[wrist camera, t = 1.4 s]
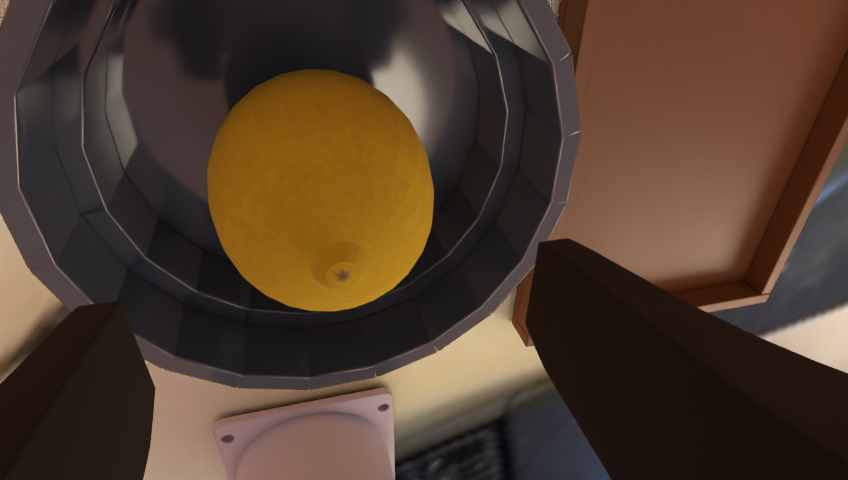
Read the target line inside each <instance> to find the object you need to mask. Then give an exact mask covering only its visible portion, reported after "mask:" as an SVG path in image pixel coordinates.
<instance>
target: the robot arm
mask: <svg viewBox="0 0 848 480" xmlns="http://www.w3.org/2000/svg"><path fill="white" fill-rule="evenodd" d="M525 325H526V327H527V329H528V332H529V334H530V337H531V339H532V341H533V344H534V346H535V349H536V351H537V353H538V355H539V357H540V360H541V362H542V364H543V366H544V368H545V370H546V372H547V373H548V375H549V377H550V379H551V380H552V382H553V384H554V385H555V387H556V389H557V390H558V392H559V394H560V395H561V397H562V399H563V400H564V402H565V404H566V405H567V407H568V409H569V410H570V412H571V414H572V415H573V417H574V418H575V420H576V422H577V423H578V425H579V427H580V428H581V430H582V432H583V433H584V435H585V437H586V438H587V440H588V441H589V443H590V445H591V446H592V448H593V450H594V451H595V453H596V455H597V456H598V458H599V459H600V461H601V463H602V464H603V466H604V468H605V469H606V471H607V473H608V475H609V476H610V478H611V480H848V373H845V372H842V371H840V370H837V369H834V368H832V367H829V366H827V365H824V364H821V363H819V362H816V361H814V360H811V359H809V358H807V357H804V356H802V355H799V354H797V353H795V352H792V351H790V350H788V349H785V348H783V347H780V346H778V345H776V344H773V343H771V342H769V341H766V340H764V339H762V338H759V337H757V336H755V335H753V334H751V333H748V332H746V331H744V330H742V329H740V328H738V327H736V326H734V325H732V324H730V323H728V322H726V321H724V320H722V319H719V318H717V317H715V316H713V315H711V314H709V313H707V312H705V311H703V310H701V309H699V308H697V307H695V306H694V305H692V304H690V303H688V302H686V301H684V300H682V299H680V298H678V297H676V296H675V295H673V294H671V293H669V292H667V291H665V290H663V289H662V288H660V287H658V286H656V285H654V284H652V283H651V282H649V281H647V280H645V279H643V278H642V277H640V276H638V275H636V274H635V273H633V272H631V271H629V270H627V269H626V268H624V267H622V266H620V265H618V264H617V263H615V262H613V261H611V260H610V259H608V258H606V257H604V256H602V255H600V254H599V253H597V252H595V251H593V250H591V249H589V248H588V247H586V246H584V245H582V244H580V243H578V242H576V241H573V240H571V239H569V238H565V239H557V240H550V241H543V242H539V244H538V249H537V255H536V261H535V267H534V273H533V279H532V284H531V290H530V296H529V302H528V308H527V314H526V319H525ZM154 397H155V386H154V384H153V381H152V379H151V376H150V374H149V371H148V369H147V366H146V364H145V361H144V359H143V356H142V353H141V351H140V348H139V346H138V343H137V341H136V338H135V336H134V333H133V331H132V328H131V326H130V323H129V321H128V318H127V315H126V313H125V310H124V308H123V305H122V303H121V300H119V301H112V302H105V303H98V304H91V305H83V306H78V307H76V308H75V309H74V310H73V311H72V312H71V313H70V314H69V315H68V316H67V317H66V318H65V319H64V320H63V321H62V322H61V323H60V324H59V325H58V326H57V327H56V328H55V329H54V330H53V331H52V332H51V333H50V334H49V335H48V336H47V337H46V338H45V339H44V340H43V341H42V342H41V343H40V344H39V345H38V346H37V347H36V348H35V349H34V350H33V352H32V353H31V354H30V355H29V356H28V357H27V358H26V359H25V360H24V361H23V362H22V363H21V364H20V365H19V366H18V367H17V368H16V369H15V370H14V371H13V372H12V373H11V374H10V375H9V376H8V377H7V378H6V379H5V380H4V381H3V382H2V383H1V384H0V480H143V477H144V473H145V468H146V464H147V459H148V454H149V449H150V442H151V433H152V423H153V411H154ZM214 436H215V439H216V442H217V445H218V448H219V451H220V454H221V457H222V460H223V463H224V466H225V469H226V473H227V476H228V479H229V480H395V460H394V410H393V395H392V392H391V390H390V389H389V388H385V387H383V388H377V389H371V390H366V391H361V392H356V393H351V394H346V395H340V396H335V397H330V398H325V399H320V400H315V401H309V402H304V403H299V404H294V405H289V406H284V407H278V408H273V409H268V410H263V411H258V412H253V413H247V414H242V415H237V416H232V417H227V418H223V419H220V420H218V421H217V422H216V423H215V424H214Z"/></svg>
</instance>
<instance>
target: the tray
mask: <svg viewBox="0 0 848 480" xmlns="http://www.w3.org/2000/svg"><path fill="white" fill-rule="evenodd" d="M558 24H559V26H560V28H561V30H562V32H563V34H564V36H565V39H566V41H567V43H568V45H569V47H570V49H571V54H572V55H573V63H574V72H575V80H576V89H577V98H578V107H579V115H580V124H581V131H580V133H581V137H580V142H579V147H578V152H577V157H576V162H575V167H574V172H573V177H572V182H571V187H570V192H569V198H568V202H567V205H566V207H565V209H564V211H563V213H562V215H561V217H560V219H559V221H558V223H557V225H556V227H555V229H554V231H553V233H552V234H551V236H550V238H549V240H548V241H550V240H557V239H565V238H569V239H571V240H573V241H576V242H578V243H580V244H582V245H584V246H586V247H588V248H589V249H591V250H593V251H595V252H597V253H599V254H600V255H602V256H604V257H606V258H608V259H610V260H611V261H613V262H615V263H617V264H618V265H620V266H622V267H624V268H626V269H627V270H629V271H631V272H633V273H635V274H636V275H638V276H640V277H642V278H643V279H645V280H647V281H649V282H651V283H652V284H654V285H656V286H658V287H660V288H662V289H663V290H665V291H667V292H669V293H671V294H673V295H675V296H676V297H678V298H680V299H682V300H684V301H686V302H688V303H690V304H692V305H694V306H695V307H697V308H699V309H701V310H703V311H705V312H707V313H709V312H714V311H720V310H725V309H730V308H736V307H741V306H746V305H752V304H757V303H762V302H766V300H767V298H768V296H769V294H770V292H771V290H772V288H773V286H774V284H775V282H776V280H777V278H778V276H779V274H780V272H781V270H782V268H783V266H784V264H785V262H786V260H787V258H788V256H789V254H790V252H791V250H792V248H793V246H794V244H795V242H796V240H797V238H798V236H799V234H800V232H801V230H802V228H803V226H804V224H805V222H806V220H807V218H808V216H809V214H810V212H811V210H812V208H813V206H814V204H815V202H816V200H817V198H818V196H819V194H820V192H821V190H822V188H823V186H824V184H825V182H826V180H827V178H828V176H829V174H830V172H831V170H832V168H833V166H834V164H835V162H836V160H837V158H838V156H839V154H840V152H841V150H842V148H843V146H844V144H845V142H846V140H847V138H848V0H561V7H560V13H559V20H558ZM534 267H535V266H534ZM534 267H533V268H532V269H531V271H530V272H529V273H528V274H527V275H526V276H525V277H524V278H523V280H522V281H521V282H520V283H519V284H518V290H517V296H516V303H515V309H514V316H513V323H512V324H513V326H514V327H515V329H516V330H517V332H518V334H519V335H520V337H521V339H522V341H523V342H524V344H525V346H527V347H528V346H533V345H534V344H533V341H532V339H531V337H530V334H529V332H528V329H527V327H526V325H525V319H526V314H527V308H528V302H529V296H530V290H531V284H532V279H533V273H534Z"/></svg>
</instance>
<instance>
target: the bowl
mask: <svg viewBox="0 0 848 480" xmlns="http://www.w3.org/2000/svg"><path fill="white" fill-rule="evenodd" d="M304 69H317V70H335V71H338V72H341V73H344V74H347V75H351V76H354V77H357V78H360V79H362V80H363V81H365V82H367V83H368V84H370V85H371V86H373V87H375V88H376V89H378V90H379V91H381V92H383V93H384V94H386V95H387V96H388V97H389V98H390V99H391V100H392V101H393V102H394V103H395V104H396V106H397V107H398V108H399V109H400V110H401V111H402V112H403V113H404V114H405V115H406V116H407V117H408V119H409V120H410V121H411V123H412V125H413V127H414V129H415V131H416V133H417V135H418V137H419V139H420V141H421V143H422V144H423V146H424V148H425V151H426V154H427V157H428V162H429V167H430V172H431V177H432V182H433V188H434V203H433V217H432V226H431V230H430V233H429V236H428V239H427V242H426V244H425V247H424V250H423V252H422V254H421V255H420V257H419V258H418V260H417V261H416V263H415V264H414V266H413V267H412V269H411V270H410V272H409V273H408V275H407V276H405V277H404V278H403V279H402V280H401V281H400V282H399V283H398V284H397V285H396V286H395V287H394V288H393V289H391V290H390V291H388V292H386V293H385V294H383V295H382V296H380V297H378V298H377V299H375V300H373V301H371V302H368V303H366V304H363V305H360V306H358V307H355V308H350V309H344V310H339V311H309V310H304V309H300V308H295V307H291V306H288V305H285V304H283V303H281V302H279V301H277V300H275V299H273V298H270V297H268V296H267V295H265V294H263V293H262V292H261V291H260V290H258V289H257V288H256V287H255V286H253V285H252V284H251V283H250V282H248V281H247V280H246V279H245V278H244V277H243V276H242V275H241V274H240V272H239V271H238V269H237V268H236V267H235V265H234V264H233V263H232V261H231V260H230V258H229V257H228V256H227V254H226V252H225V251H224V249H223V247H222V245H221V242H220V239H219V237H218V234H217V231H216V228H215V225H214V222H213V220H212V217H211V213H210V209H209V203H208V183H207V167H208V163H209V159H210V155H211V152H212V148H213V145H214V141H215V137H216V134H217V132H218V130H219V129H220V127H221V125H222V124H223V122H224V121H225V119H226V117H227V116H228V114H229V113H230V111H231V110H232V108H233V107H234V106H235V104H236V103H238V102H239V101H240V100H241V99H242V98H243V97H244V96H245V95H246V94H248V93H249V92H250V91H251V90H252V89H253V88H254V87H255V86H257V85H259V84H261V83H263V82H265V81H267V80H270V79H272V78H274V77H276V76H278V75H280V74H284V73H289V72H294V71H299V70H304ZM580 131H581V124H580V115H579V107H578V98H577V89H576V80H575V72H574V63H573V55H572V54H571V49H570V47H569V45H568V43H567V41H566V39H565V36H564V34H563V32H562V30H561V28H560V26H559V24H558V22H557V20H556V18H555V16H554V14H553V11H552V9H551V7H550V5H549V3H548V1H547V0H9V3H8V6H7V8H6V11H5V14H4V17H3V19H2V22H1V25H0V213H1V215H2V217H3V219H4V221H5V223H6V225H7V227H8V229H9V231H10V233H11V235H12V237H13V239H14V241H15V243H16V245H17V247H18V249H19V251H20V253H21V255H22V257H23V259H24V261H25V263H26V265H27V267H28V268H30V271H31V272H32V273H33V274H34V275H35V276H36V277H37V278H38V279H39V280H40V281H41V282H42V283H43V284H44V285H45V286H46V287H47V288H48V289H49V290H50V291H51V292H52V293H53V294H54V295H55V296H56V297H57V298H58V299H59V300H60V301H61V302H62V303H63V304H64V305H65V306H66V307H67V308H68V309H69V310H70V311H71V312H72V311H73V310H74V309H75V308H76V307H78V306H83V305H91V304H98V303H105V302H112V301H119V300H121V303H122V305H123V308H124V310H125V313H126V315H127V318H128V321H129V323H130V326H131V328H132V331H133V333H134V336H135V338H136V341H137V343H138V346H139V348H140V351H141V353H142V356H143V359H145V360H147V361H148V362H150V363H152V364H154V365H156V366H158V367H159V368H164V369H165V370H167V371H171V372H175V373H179V374H183V375H187V376H191V377H195V378H199V379H203V380H207V381H211V382H214V383H218V384H222V385H226V386H230V387H234V388H236V387H238V388H247V389H285V390H308V389H310V390H312V389H318V388H323V387H328V386H333V385H339V384H344V383H349V382H355V381H360V380H365V379H371V378H375V377H376V376H377V377H378V376H381V375H383V374H386V373H388V372H391V371H393V370H395V369H398V368H400V367H403V366H405V365H407V364H410V363H412V362H414V361H417V360H419V359H422V358H424V357H426V356H429V355H431V354H434V353H436V352H437V350H438V351H439V350H441V349H443V348H444V347H445V346H447V345H448V344H450V343H451V342H453V341H454V340H455V339H457V338H458V337H460V336H461V335H462V334H464V333H465V332H467V331H468V330H470V329H471V328H472V327H474V326H475V325H477V324H478V323H480V322H481V321H482V320H484V319H485V318H487V317H488V316H489V315H491V313H493V312H494V311H495V310H496V309H497V308H498V307H499V305H500V304H501V303H502V302H503V301H504V300H505V299H506V298H507V296H508V295H509V294H510V293H511V292H512V291H513V290H514V289H515V287H516V286H517V285H518V284H519V283H520V282H521V281H522V280H523V278H524V277H525V276H526V275H527V274H528V273H529V272H530V271H531V269H532V268H533V267H534V266H535V261H536V255H537V249H538V244H539V242H543V241H548V240H549V238H550V236H551V234H552V233H553V231H554V229H555V227H556V225H557V223H558V221H559V219H560V217H561V215H562V213H563V211H564V209H565V207H566V205H567V202H568V198H569V192H570V187H571V182H572V177H573V172H574V167H575V162H576V157H577V152H578V147H579V142H580V137H581V133H580Z"/></svg>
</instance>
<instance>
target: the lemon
mask: <svg viewBox="0 0 848 480" xmlns="http://www.w3.org/2000/svg"><path fill="white" fill-rule="evenodd" d="M207 183H208V203H209V209H210V213H211V217H212V220H213V222H214V225H215V228H216V231H217V234H218V237H219V239H220V242H221V245H222V247H223V249H224V251H225V252H226V254H227V256H228V257H229V258H230V260H231V261H232V263H233V264H234V265H235V267H236V268H237V269H238V271H239V272H240V274H241V275H242V276H243V277H244V278H245V279H246V280H247V281H248V282H250V283H251V284H252V285H253V286H255V287H256V288H257V289H258V290H260V291H261V292H262V293H263V294H265V295H267V296H268V297H270V298H273V299H275V300H277V301H279V302H281V303H283V304H285V305H288V306H291V307H295V308H300V309H304V310H309V311H339V310H344V309H350V308H355V307H358V306H360V305H363V304H366V303H368V302H371V301H373V300H375V299H377V298H378V297H380V296H382V295H383V294H385V293H386V292H388V291H390V290H391V289H393V288H394V287H395V286H396V285H397V284H398V283H399V282H400V281H401V280H402V279H403V278H404V277H405V276H407V275H408V273H409V272H410V270H411V269H412V267H413V266H414V264H415V263H416V261H417V260H418V258H419V257H420V255H421V254H422V252H423V250H424V247H425V244H426V242H427V239H428V236H429V233H430V230H431V226H432V217H433V203H434V188H433V182H432V177H431V172H430V167H429V162H428V157H427V154H426V151H425V148H424V146H423V144H422V143H421V141H420V139H419V137H418V135H417V133H416V131H415V129H414V127H413V125H412V123H411V121H410V120H409V119H408V117H407V116H406V115H405V114H404V113H403V112H402V111H401V110H400V109H399V108H398V107H397V106H396V104H395V103H394V102H393V101H392V100H391V99H390V98H389V97H388V96H387V95H386V94H384V93H383V92H381V91H379V90H378V89H376V88H375V87H373V86H371V85H370V84H368V83H367V82H365V81H363V80H362V79H360V78H357V77H354V76H351V75H347V74H344V73H341V72H338V71H335V70H317V69H304V70H299V71H294V72H289V73H284V74H280V75H278V76H276V77H274V78H272V79H270V80H267V81H265V82H263V83H261V84H259V85H257V86H255V87H254V88H253V89H252V90H251V91H250V92H249V93H248V94H246V95H245V96H244V97H243V98H242V99H241V100H240V101H239V102H238V103H236V104H235V106H234V107H233V108H232V110H231V111H230V113H229V114H228V116H227V117H226V119H225V121H224V122H223V124H222V125H221V127H220V129H219V130H218V132H217V134H216V137H215V141H214V145H213V148H212V152H211V155H210V159H209V163H208V167H207Z"/></svg>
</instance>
